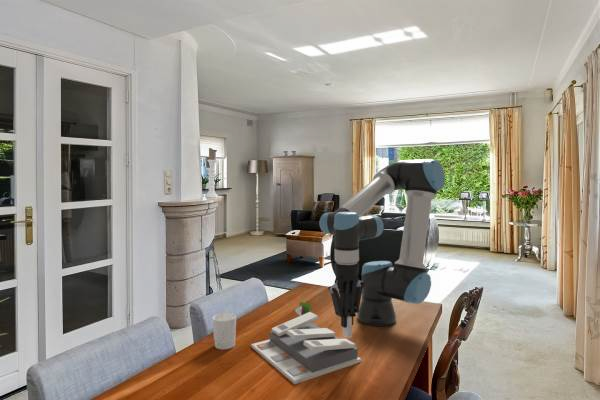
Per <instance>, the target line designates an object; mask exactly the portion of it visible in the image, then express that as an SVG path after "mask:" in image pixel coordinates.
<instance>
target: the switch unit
mask: <svg viewBox="0 0 600 400" xmlns="http://www.w3.org/2000/svg"><path fill="white" fill-rule="evenodd" d="M317 328H321V326H318V325H317V324H315V323H314V322H311V323H308V324H306V325H304V326H302V327H300V328H297V329H317ZM295 330H296V329H295ZM326 339H341V338H340V337H338V336H337V335H335V337H320V338H305V339H294V338H292V337H291V336H289V335H288V334H284V335H282V336H280V337H279V336H278V335H276V334H275V333H274V332H272V331H270V332H269V339H266V340H262V341H258V342H255V343H251V345H250V347H251V348H252V349H253V350H254V351H255V352H256V353H258V354H259V355H260V356H261V357H262V358H263V359H264V360H266V361H267V362H268V363H269V364H271V365H272V367H274V368H275V369H276V370H278V371H279V372H280V373H281V374H282V375H283V376H284V377H285V378H287V379H288V380H289V381H290V382H291V383H293V384H294V385H297V384H299V383H302V382H305V381H309V380H311V379H314V378H318V377H321V376H323V375H326V374H328V373H332V372H336V371H338V370H341V369H344V368H347V367H349V366H353V365H355V364H358V363H362V358H361V357H359V356H358V355H359V354H358V353H359V351H358V347H356V346H355V348H347V349H333V350H319V351H312V350H310V349H309V348H307V347H306V346H304V345H303V343H304V341H307V340H326Z"/></svg>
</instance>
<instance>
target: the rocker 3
mask: <svg viewBox="0 0 600 400" xmlns="http://www.w3.org/2000/svg"><path fill="white" fill-rule="evenodd" d="M303 345H304V346H306V347H307V348H309V349H310V350H312V351H319V350H333V349H347V348H355V347H356V343H355V342H353V341H350V340H349V339H348V338H346V337H345V338H340V339H326V340H307V341H304V343H303Z"/></svg>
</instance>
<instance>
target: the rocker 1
mask: <svg viewBox="0 0 600 400" xmlns="http://www.w3.org/2000/svg"><path fill="white" fill-rule="evenodd" d="M317 320H319V316H318V315H317V314H315V313H313V312H312V311H309V312H308V313H306V314H304V315H301V316H299V317H298V316H297V317H295V318H293V319H290V320H287V321H285V322H283V323H281V324H279V325H276V326H274V327H272V328H271V332H274V333H275V334H276V335H278V336H279V337H280V336H282V335H284V334H286V333H287V330H295V329H297V328H300V327H302V326H304V325H306V324H308V323H311V322H312V323H314V322H315V321H317Z"/></svg>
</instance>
